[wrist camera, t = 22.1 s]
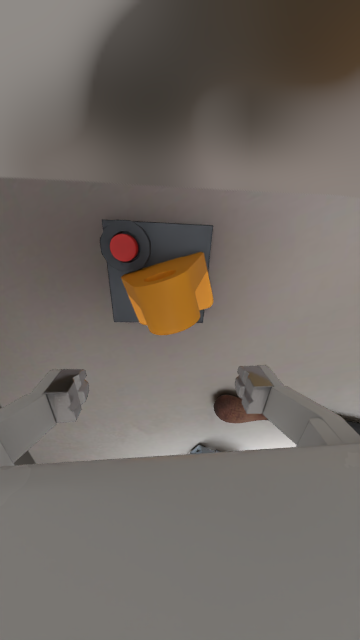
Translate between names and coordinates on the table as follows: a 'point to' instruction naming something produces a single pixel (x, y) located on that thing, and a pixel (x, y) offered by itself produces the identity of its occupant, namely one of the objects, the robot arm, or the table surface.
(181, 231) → the scale
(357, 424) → the chisel
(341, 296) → the table surface
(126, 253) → the button
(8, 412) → the robot arm
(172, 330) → the bracket
